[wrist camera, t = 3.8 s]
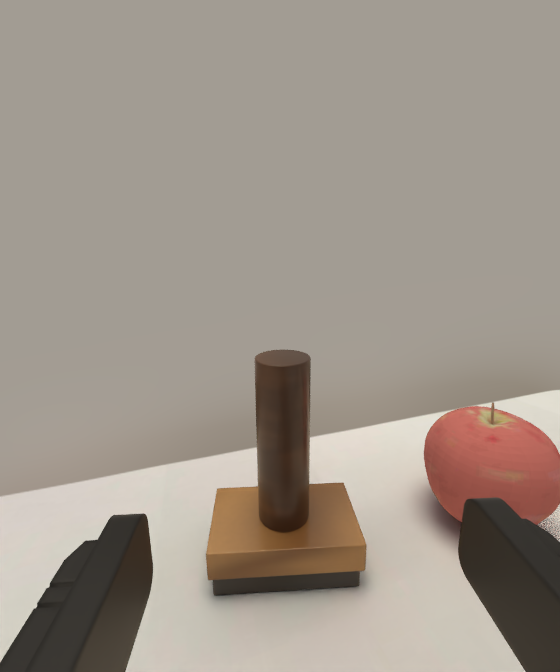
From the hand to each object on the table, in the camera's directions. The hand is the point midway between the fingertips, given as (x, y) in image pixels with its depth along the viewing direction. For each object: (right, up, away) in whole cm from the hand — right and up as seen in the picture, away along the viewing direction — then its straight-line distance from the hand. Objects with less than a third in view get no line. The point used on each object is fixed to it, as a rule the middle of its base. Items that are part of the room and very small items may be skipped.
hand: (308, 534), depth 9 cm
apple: (+12, -7, +15) cm, 20 cm away
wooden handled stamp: (0, -8, +12) cm, 14 cm away
